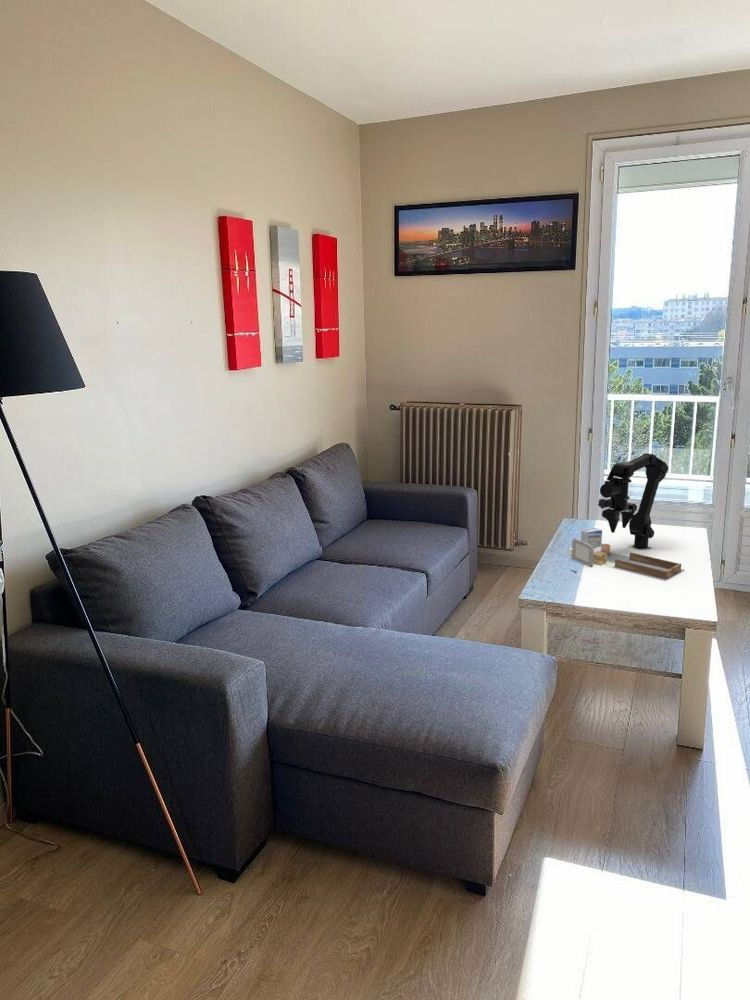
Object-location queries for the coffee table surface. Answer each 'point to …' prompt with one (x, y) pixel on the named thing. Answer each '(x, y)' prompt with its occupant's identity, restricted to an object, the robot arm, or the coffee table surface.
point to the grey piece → (582, 552)
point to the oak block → (599, 558)
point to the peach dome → (605, 548)
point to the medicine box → (592, 537)
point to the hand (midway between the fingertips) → (618, 530)
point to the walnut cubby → (671, 566)
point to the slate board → (613, 557)
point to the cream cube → (570, 551)
